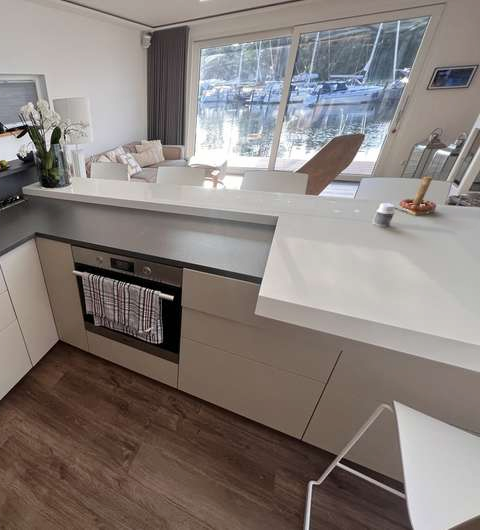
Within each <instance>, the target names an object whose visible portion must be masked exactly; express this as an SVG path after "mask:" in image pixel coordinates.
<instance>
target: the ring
mask: <svg viewBox="0 0 480 530" xmlns="http://www.w3.org/2000/svg"><path fill="white" fill-rule="evenodd" d="M413 201H414V198H407V199H402V200H401V201H400V202H399V204H398V205H400V206H402V207H403V208H406V209H409V210H415V211H431V210H434V209H435V210H436V208H437V204H436V203H434V202H433V201H430V200H426V199H423V200H422V202H421V204H425V206H424V205H422V206H418V205H412V204H409V203H413Z"/></svg>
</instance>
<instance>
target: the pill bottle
mask: <svg viewBox="0 0 480 530" xmlns="http://www.w3.org/2000/svg"><path fill="white" fill-rule="evenodd" d="M395 206H396V205H395V204H393V203H389V202H383V203H380V205H379V208H378V209H376V212H375V215H374V218H373V220H372V224H371V225H373V226H376V227H378V228H379V227H380V228H388V227H390V225H391V222H392V219H393V217H394V216H395V210H396V209H395Z"/></svg>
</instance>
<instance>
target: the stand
mask: <svg viewBox="0 0 480 530" xmlns="http://www.w3.org/2000/svg"><path fill="white" fill-rule="evenodd" d="M432 181H433V176H423V178H422V180H421V182H420V185H419V187H418V190H417V192H416V194H415V196H414V198H413V199H414V201H413V203H412V205H418V206H420V204H421V202H422V200H424V198H425V196H426V193H427V191H428V189H429V187H430V185H431V183H432ZM406 210H407V211H409V212H410V213H411V214H410V215H412V214H413V215H412V216H419V215H418V214H420V215H423V214H422V213H427V212H432V211H435V212H436V208H435V209H434V210H431V211H415V210H409V209H406ZM427 214H428V213H427Z"/></svg>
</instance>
